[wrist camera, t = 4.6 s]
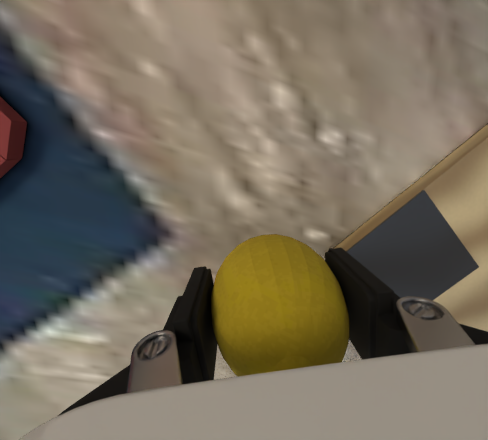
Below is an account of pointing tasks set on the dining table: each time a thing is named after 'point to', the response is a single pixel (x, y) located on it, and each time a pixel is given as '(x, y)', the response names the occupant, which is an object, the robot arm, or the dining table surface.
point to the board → (436, 236)
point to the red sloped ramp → (10, 137)
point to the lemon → (278, 308)
